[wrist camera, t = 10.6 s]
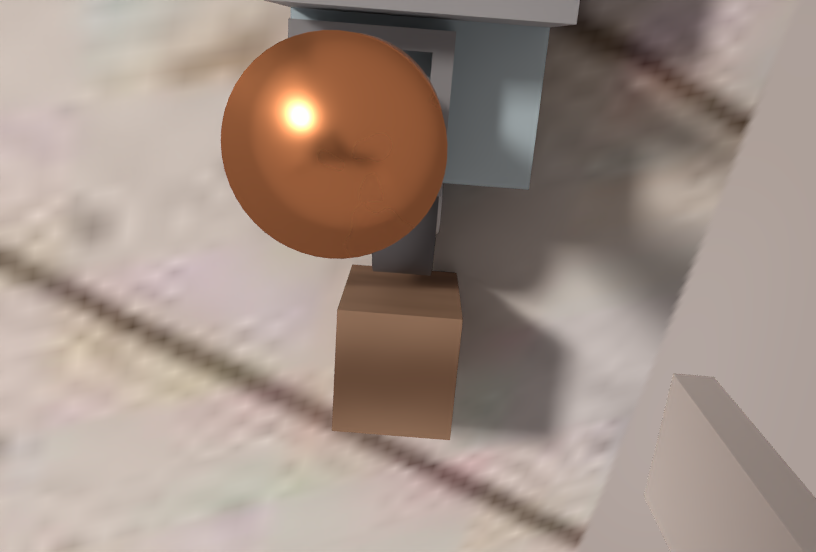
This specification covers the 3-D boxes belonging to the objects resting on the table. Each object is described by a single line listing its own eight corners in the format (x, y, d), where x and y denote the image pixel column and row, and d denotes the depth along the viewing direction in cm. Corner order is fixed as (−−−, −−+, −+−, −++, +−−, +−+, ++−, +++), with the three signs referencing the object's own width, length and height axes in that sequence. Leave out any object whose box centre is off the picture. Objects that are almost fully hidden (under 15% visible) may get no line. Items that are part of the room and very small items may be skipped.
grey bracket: (317, -7, 30) (262, -31, 20) (529, 10, 30) (580, -6, 20) (309, 243, 33) (259, 329, 23) (499, 258, 33) (530, 350, 23)
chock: (352, 264, 34) (337, 309, 28) (456, 272, 34) (462, 319, 28) (347, 368, 35) (331, 430, 30) (446, 375, 35) (449, 440, 30)
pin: (307, 29, 24) (219, 20, 14) (444, 40, 24) (458, 39, 14) (303, 166, 26) (221, 249, 16) (432, 176, 26) (437, 267, 16)
